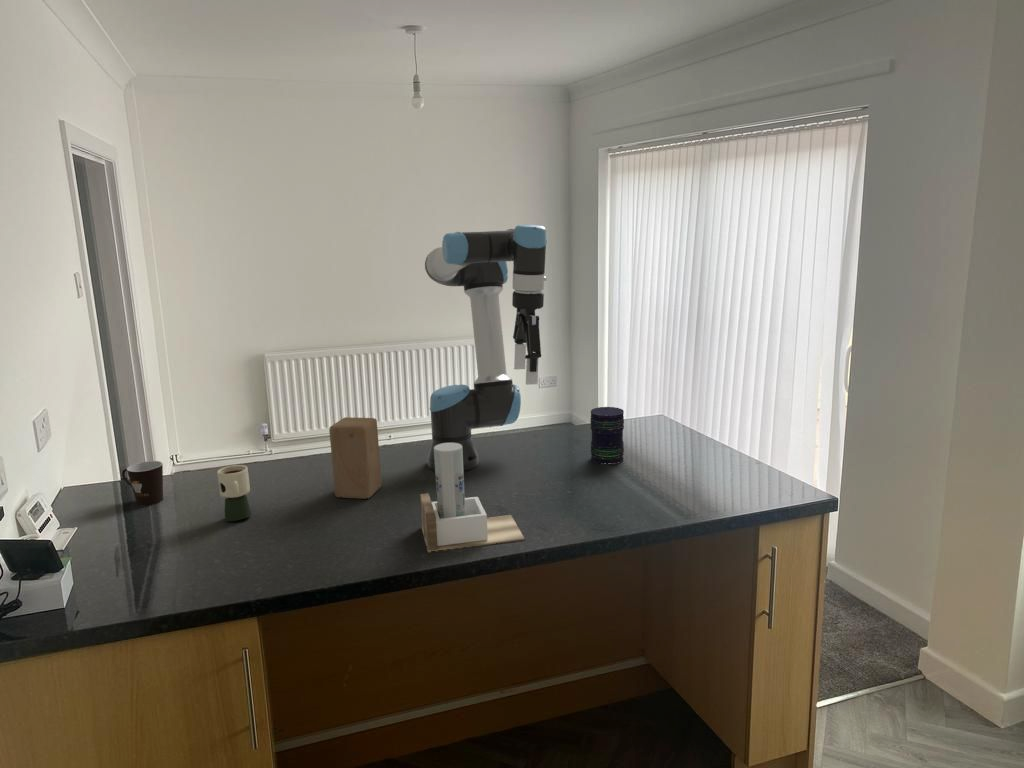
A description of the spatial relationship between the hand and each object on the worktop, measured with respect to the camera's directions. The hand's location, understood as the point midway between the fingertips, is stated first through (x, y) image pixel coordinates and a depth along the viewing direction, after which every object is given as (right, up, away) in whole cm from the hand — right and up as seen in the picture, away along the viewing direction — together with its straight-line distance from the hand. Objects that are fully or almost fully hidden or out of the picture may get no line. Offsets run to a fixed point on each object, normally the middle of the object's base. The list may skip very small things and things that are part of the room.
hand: (525, 376), depth 182 cm
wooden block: (-45, -32, +18) cm, 58 cm away
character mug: (-72, -36, +3) cm, 81 cm away
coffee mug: (-102, -34, +17) cm, 109 cm away
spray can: (-17, -36, -12) cm, 41 cm away
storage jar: (+25, -25, +38) cm, 51 cm away
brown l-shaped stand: (-13, -37, -11) cm, 40 cm away
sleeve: (-16, -36, -11) cm, 41 cm away
